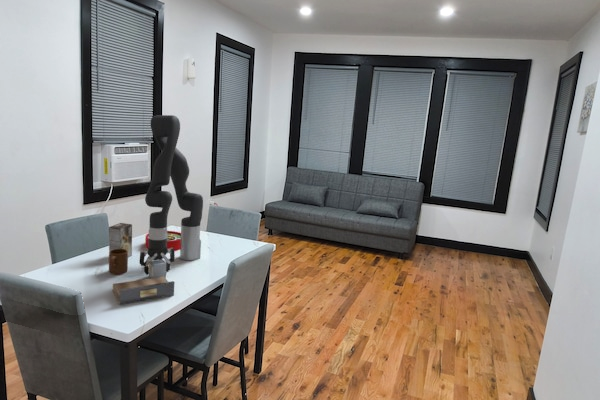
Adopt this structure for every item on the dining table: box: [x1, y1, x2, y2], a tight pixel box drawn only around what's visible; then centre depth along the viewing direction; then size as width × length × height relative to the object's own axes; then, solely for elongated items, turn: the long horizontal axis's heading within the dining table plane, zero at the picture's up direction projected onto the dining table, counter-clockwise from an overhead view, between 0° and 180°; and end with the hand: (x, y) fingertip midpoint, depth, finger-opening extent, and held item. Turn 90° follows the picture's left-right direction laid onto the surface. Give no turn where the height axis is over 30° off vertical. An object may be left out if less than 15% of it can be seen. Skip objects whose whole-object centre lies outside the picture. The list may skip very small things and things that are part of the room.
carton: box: [148, 259, 167, 279], centre depth 174 cm, size 6×8×8 cm
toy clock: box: [144, 230, 181, 252], centre depth 217 cm, size 20×6×20 cm
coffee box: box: [108, 222, 133, 258], centre depth 194 cm, size 9×6×16 cm
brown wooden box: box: [112, 276, 175, 306], centre depth 159 cm, size 20×14×6 cm
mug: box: [108, 249, 129, 275], centre depth 175 cm, size 12×8×9 cm, turn 3°
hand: (157, 272), depth 174 cm, fingers open, 8 cm apart
